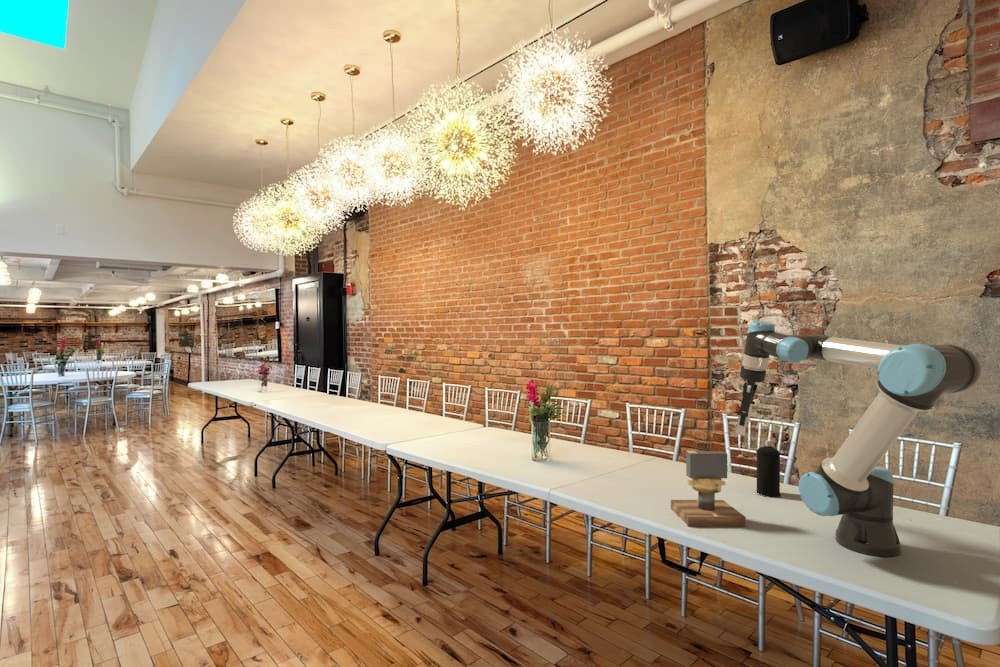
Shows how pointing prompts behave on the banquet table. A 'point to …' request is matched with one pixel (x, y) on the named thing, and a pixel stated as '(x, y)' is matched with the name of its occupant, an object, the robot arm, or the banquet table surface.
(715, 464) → the coupling
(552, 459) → the banquet table surface
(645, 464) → the banquet table surface
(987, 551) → the banquet table surface
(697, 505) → the base
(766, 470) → the aerosol can
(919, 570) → the banquet table surface
